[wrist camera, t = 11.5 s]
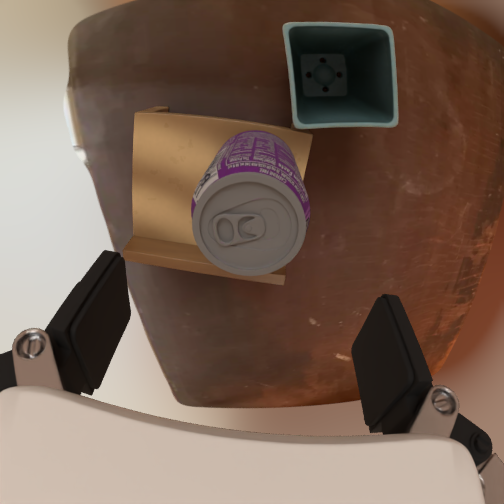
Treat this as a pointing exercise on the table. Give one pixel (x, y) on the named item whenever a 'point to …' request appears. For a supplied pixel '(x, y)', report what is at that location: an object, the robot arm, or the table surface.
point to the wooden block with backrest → (185, 184)
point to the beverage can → (251, 206)
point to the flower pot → (352, 74)
